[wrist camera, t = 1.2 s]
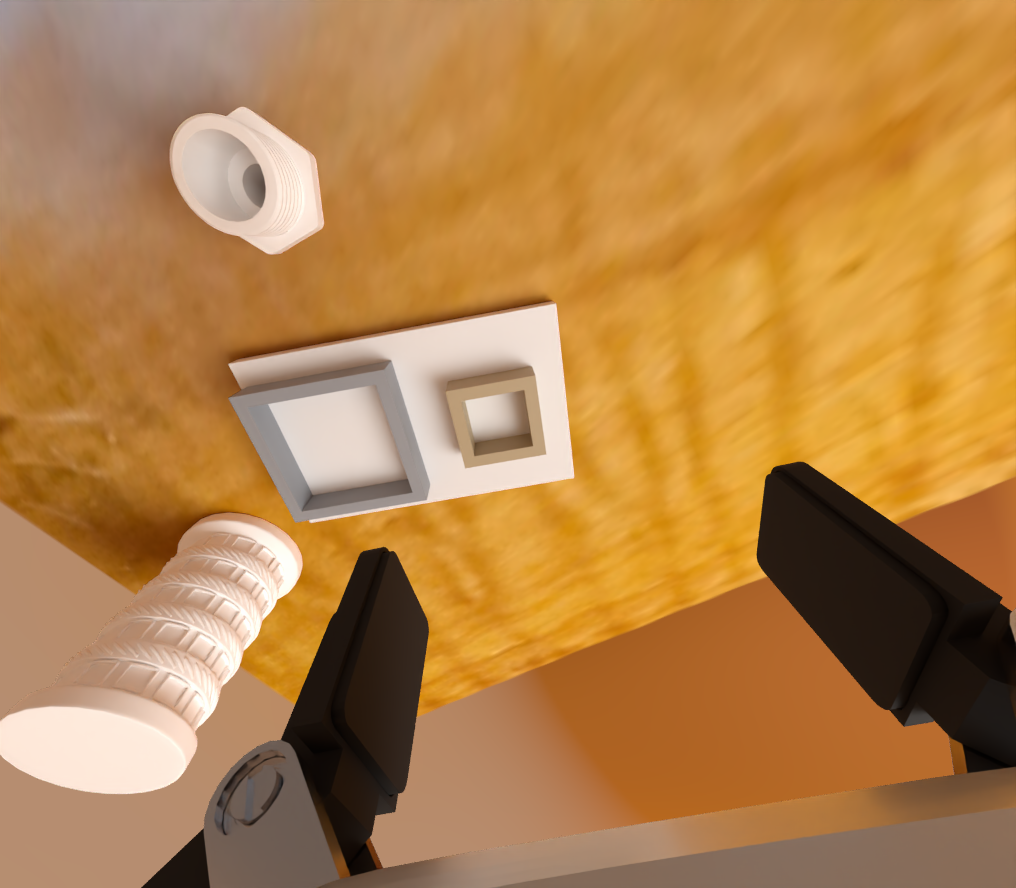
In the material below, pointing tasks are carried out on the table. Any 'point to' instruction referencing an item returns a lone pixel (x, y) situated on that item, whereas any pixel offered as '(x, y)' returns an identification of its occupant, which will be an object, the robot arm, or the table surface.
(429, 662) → the table surface
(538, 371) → the board
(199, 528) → the white carved column
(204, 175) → the pipe fitting
